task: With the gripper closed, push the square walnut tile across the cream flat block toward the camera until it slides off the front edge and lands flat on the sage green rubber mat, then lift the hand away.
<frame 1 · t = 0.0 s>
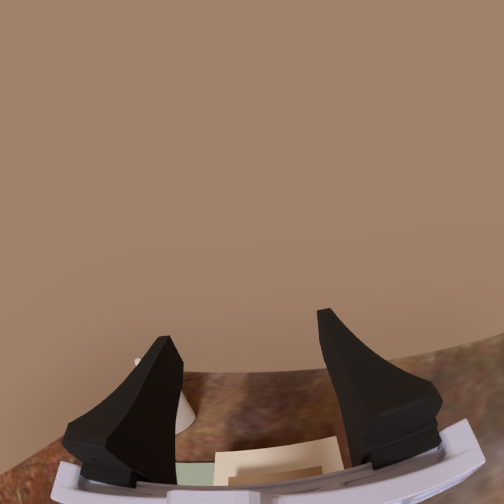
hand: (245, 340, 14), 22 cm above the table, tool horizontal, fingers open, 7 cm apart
eye dropper bottle: (177, 425, 33), on the table
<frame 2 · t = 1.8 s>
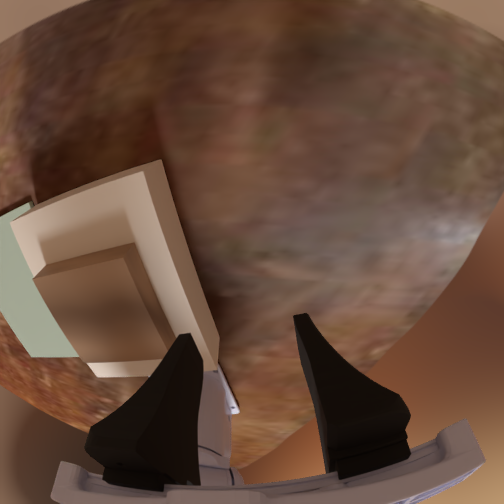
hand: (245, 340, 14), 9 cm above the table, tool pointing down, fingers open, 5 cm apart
mat: (27, 294, 24), on the table
walnut tile: (108, 303, 19), point 4 cm above the table, touching cream flat block
cream flat block: (125, 274, 23), on the table
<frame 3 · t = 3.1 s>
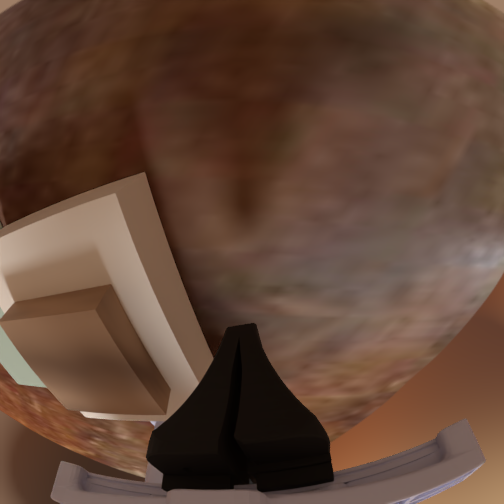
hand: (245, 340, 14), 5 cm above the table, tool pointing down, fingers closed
mat: (6, 322, 19), on the table
walnut tile: (87, 349, 15), point 4 cm above the table, touching cream flat block
cream flat block: (108, 309, 18), on the table
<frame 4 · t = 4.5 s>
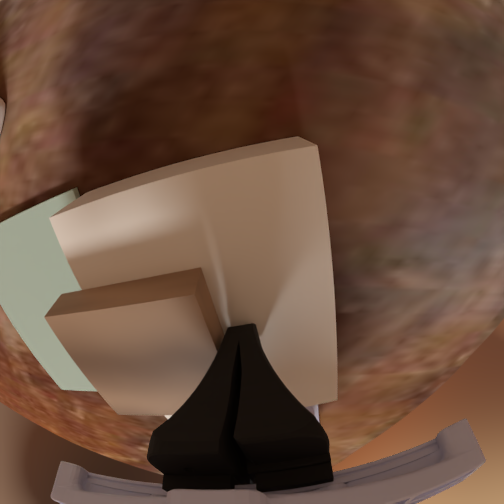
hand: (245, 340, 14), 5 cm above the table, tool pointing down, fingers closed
mat: (61, 316, 19), on the table
walnut tile: (152, 344, 15), point 4 cm above the table, touching cream flat block, gripper
cream flat block: (220, 291, 18), on the table
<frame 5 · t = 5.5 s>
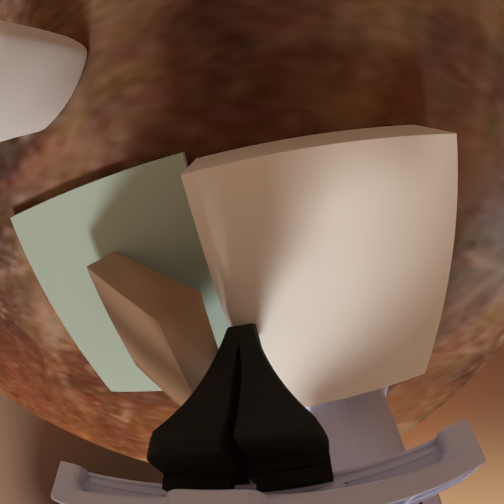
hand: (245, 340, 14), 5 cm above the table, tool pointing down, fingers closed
mat: (131, 306, 18), on the table
walnut tile: (171, 330, 15), point 3 cm above the table, tilted 42°, touching gripper
eye dropper bottle: (56, 84, 12), on the table
cream flat block: (330, 269, 17), on the table
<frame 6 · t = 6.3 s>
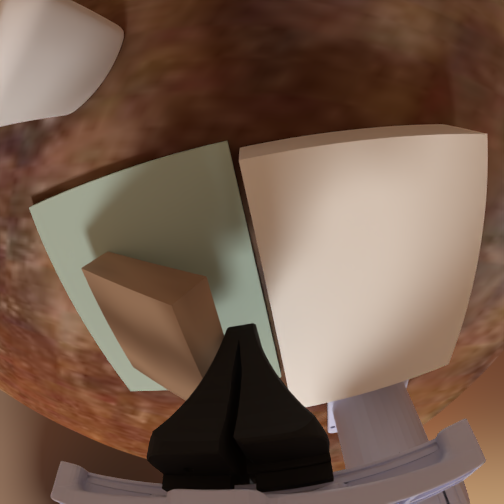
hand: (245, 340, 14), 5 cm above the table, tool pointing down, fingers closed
mat: (160, 301, 18), on the table
walnut tile: (170, 324, 15), point 3 cm above the table, tilted 34°, touching gripper, mat
eye dropper bottle: (87, 66, 12), on the table
cream flat block: (364, 262, 17), on the table
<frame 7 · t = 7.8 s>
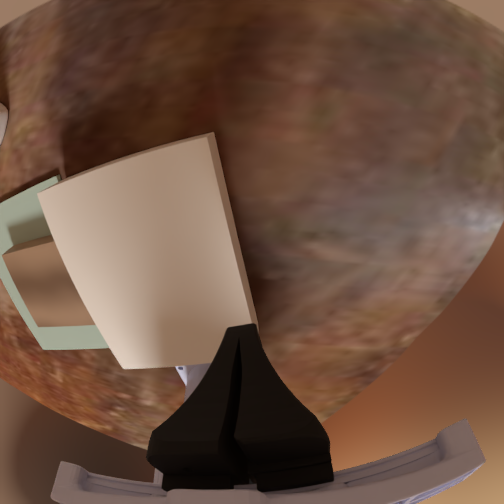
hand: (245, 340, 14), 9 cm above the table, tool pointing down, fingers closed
mat: (45, 279, 23), on the table
walnut tile: (56, 277, 22), resting on mat
cream flat block: (162, 255, 22), on the table
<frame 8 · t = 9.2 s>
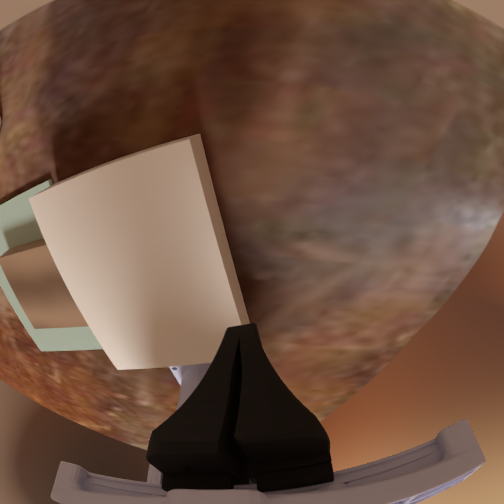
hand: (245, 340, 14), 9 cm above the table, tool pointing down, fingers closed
mat: (40, 282, 23), on the table
walnut tile: (51, 280, 22), resting on mat
cream flat block: (152, 257, 22), on the table
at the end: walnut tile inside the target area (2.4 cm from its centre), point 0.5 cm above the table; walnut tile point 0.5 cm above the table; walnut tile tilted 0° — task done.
